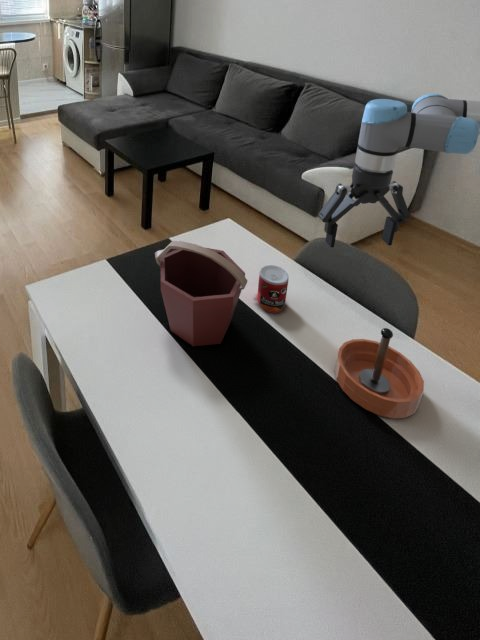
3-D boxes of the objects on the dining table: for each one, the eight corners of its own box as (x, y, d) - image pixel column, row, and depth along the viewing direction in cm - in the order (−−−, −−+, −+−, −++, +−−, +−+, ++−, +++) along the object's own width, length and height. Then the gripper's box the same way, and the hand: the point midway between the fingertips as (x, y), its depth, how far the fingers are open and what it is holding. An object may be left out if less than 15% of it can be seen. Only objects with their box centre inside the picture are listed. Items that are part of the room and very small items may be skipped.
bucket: (140, 319, 125) (138, 249, 115) (185, 281, 138) (187, 215, 129) (214, 372, 107) (219, 294, 98) (258, 322, 120) (265, 250, 111)
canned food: (257, 311, 124) (260, 281, 120) (255, 292, 131) (258, 263, 127) (286, 315, 122) (290, 285, 118) (282, 296, 129) (286, 266, 125)
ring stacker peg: (384, 375, 102) (399, 322, 96) (393, 398, 97) (408, 343, 91) (356, 369, 104) (368, 317, 98) (362, 392, 99) (376, 337, 93)
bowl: (403, 364, 105) (408, 346, 103) (430, 429, 91) (436, 410, 89) (328, 350, 111) (331, 333, 108) (342, 409, 96) (346, 391, 94)
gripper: (418, 156, 100) (400, 232, 108) (309, 161, 102) (299, 235, 110) (442, 171, 93) (421, 250, 101) (325, 176, 95) (313, 254, 103)
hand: (357, 243), depth 106 cm, fingers open, 13 cm apart
